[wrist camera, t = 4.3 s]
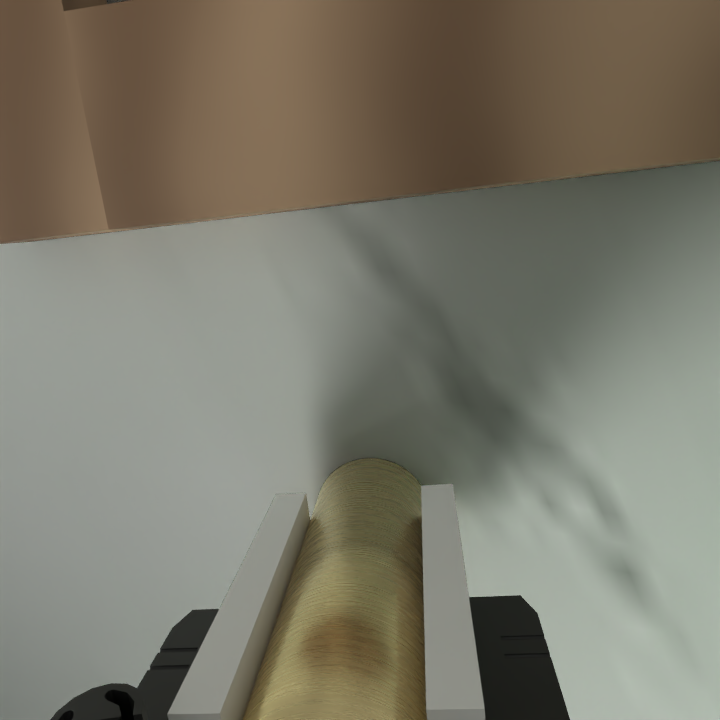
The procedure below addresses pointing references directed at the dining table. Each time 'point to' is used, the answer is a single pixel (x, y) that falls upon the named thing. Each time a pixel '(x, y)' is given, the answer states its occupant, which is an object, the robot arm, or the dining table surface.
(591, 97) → the keyhole board
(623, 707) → the dining table surface
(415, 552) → the peg
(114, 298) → the dining table surface
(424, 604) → the robot arm
